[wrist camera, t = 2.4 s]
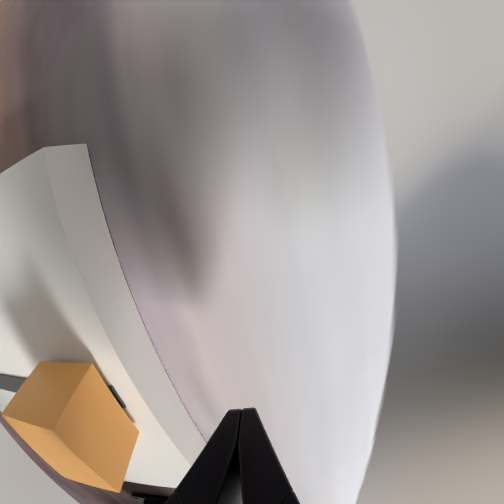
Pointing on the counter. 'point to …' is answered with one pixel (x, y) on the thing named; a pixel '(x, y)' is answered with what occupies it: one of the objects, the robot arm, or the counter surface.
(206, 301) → the counter surface
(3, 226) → the fader console
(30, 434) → the fader knob
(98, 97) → the counter surface
